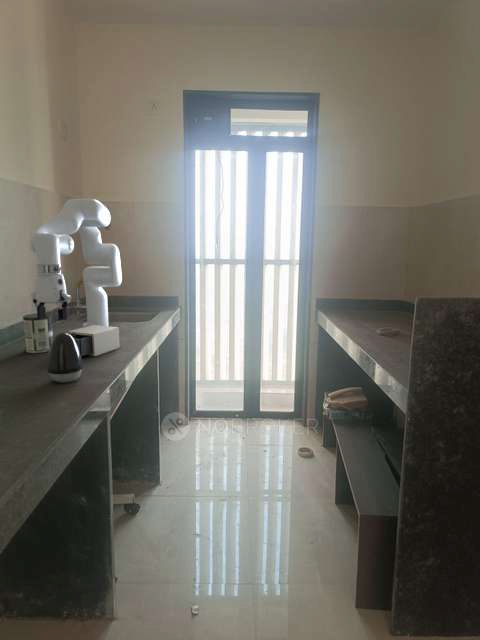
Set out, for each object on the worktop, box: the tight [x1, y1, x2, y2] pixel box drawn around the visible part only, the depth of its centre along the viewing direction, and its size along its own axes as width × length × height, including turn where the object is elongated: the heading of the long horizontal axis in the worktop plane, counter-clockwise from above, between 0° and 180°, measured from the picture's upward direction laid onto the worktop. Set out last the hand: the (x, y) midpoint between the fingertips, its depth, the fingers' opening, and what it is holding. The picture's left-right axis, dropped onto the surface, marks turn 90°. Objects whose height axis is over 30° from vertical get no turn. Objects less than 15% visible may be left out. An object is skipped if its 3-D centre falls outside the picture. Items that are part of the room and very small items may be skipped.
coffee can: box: [22, 312, 54, 354], centre depth 165 cm, size 10×10×14 cm
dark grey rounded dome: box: [46, 332, 84, 384], centre depth 129 cm, size 10×10×15 cm
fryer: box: [67, 325, 121, 357], centre depth 166 cm, size 15×13×9 cm
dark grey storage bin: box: [46, 334, 93, 357], centre depth 156 cm, size 19×11×7 cm, turn 157°
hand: (52, 319), depth 145 cm, fingers open, 9 cm apart
